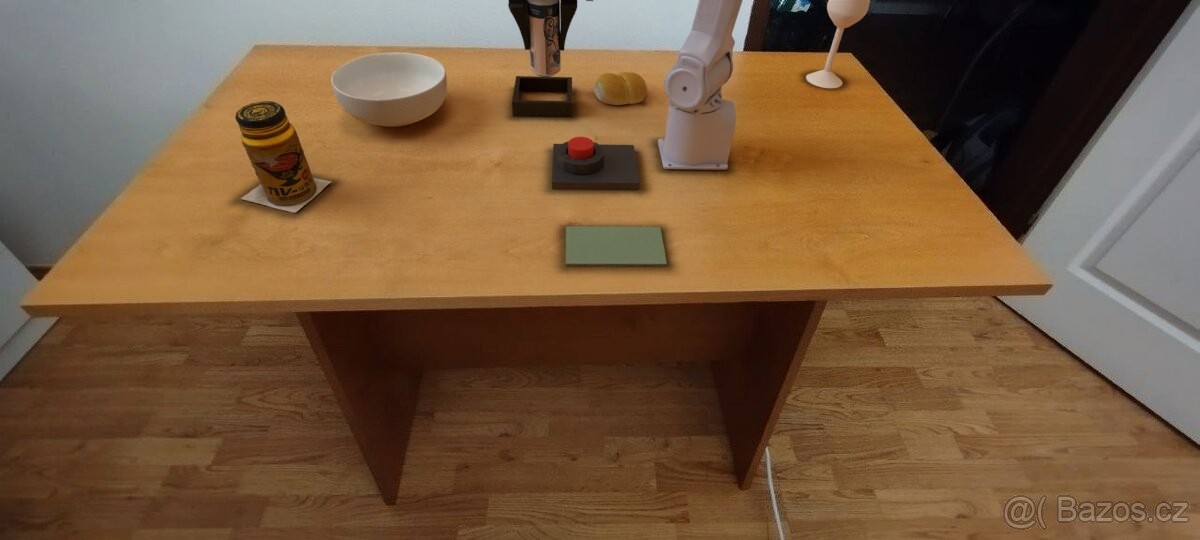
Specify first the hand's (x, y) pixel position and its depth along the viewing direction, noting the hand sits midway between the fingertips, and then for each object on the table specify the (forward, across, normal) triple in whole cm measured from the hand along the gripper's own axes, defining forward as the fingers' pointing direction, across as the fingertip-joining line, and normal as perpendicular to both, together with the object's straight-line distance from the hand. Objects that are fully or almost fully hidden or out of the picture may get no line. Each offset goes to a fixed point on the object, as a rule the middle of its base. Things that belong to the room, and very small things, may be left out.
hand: (545, 47), depth 89 cm
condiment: (+10, +34, +24) cm, 43 cm away
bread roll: (+10, -12, -5) cm, 17 cm away
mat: (+10, -10, +35) cm, 38 cm away
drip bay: (+10, +1, -2) cm, 10 cm away
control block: (+10, -7, +18) cm, 22 cm away
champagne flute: (+11, -51, -13) cm, 54 cm away
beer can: (+4, 0, 0) cm, 4 cm away
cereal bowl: (+10, +24, +3) cm, 26 cm away
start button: (+8, -5, +18) cm, 20 cm away
